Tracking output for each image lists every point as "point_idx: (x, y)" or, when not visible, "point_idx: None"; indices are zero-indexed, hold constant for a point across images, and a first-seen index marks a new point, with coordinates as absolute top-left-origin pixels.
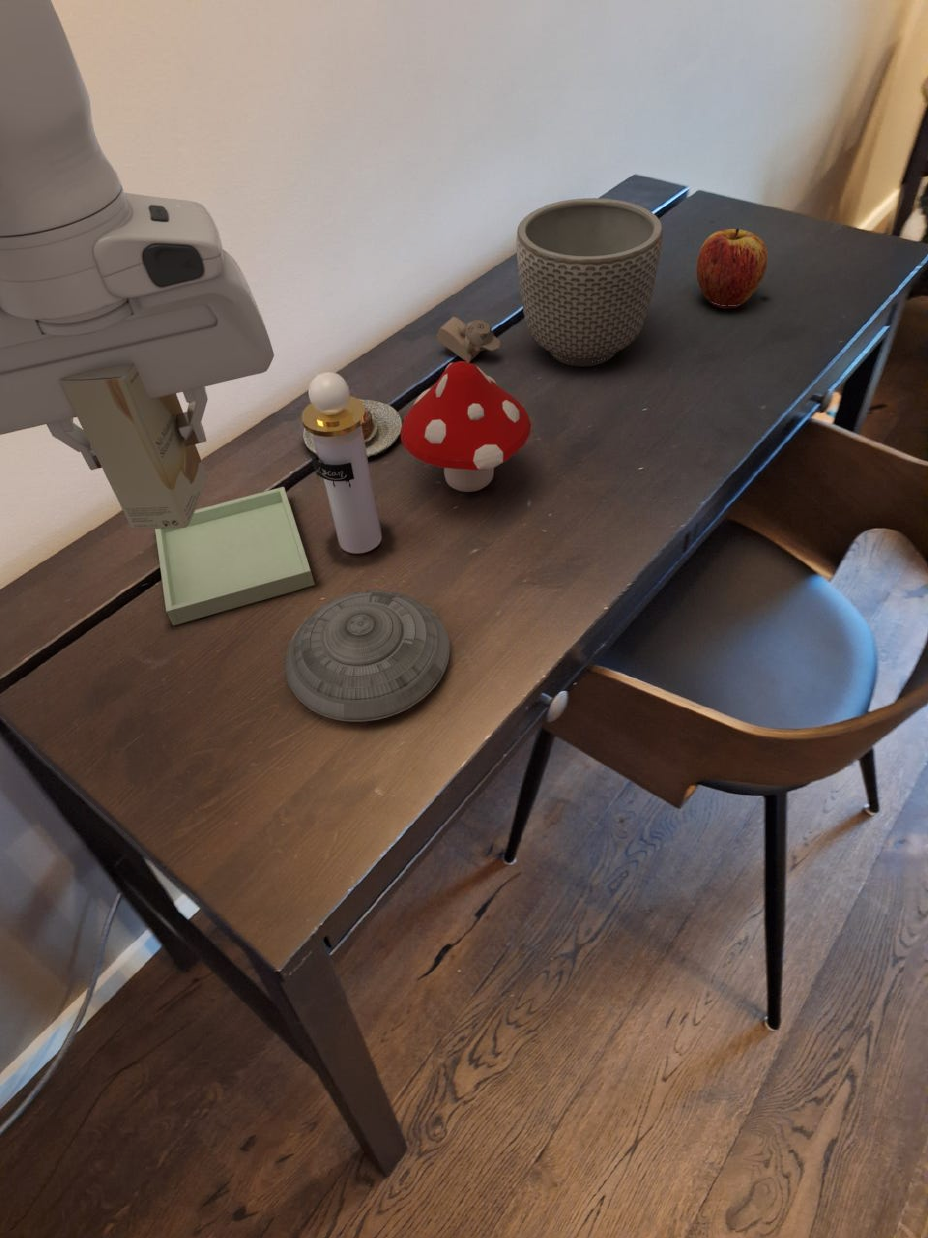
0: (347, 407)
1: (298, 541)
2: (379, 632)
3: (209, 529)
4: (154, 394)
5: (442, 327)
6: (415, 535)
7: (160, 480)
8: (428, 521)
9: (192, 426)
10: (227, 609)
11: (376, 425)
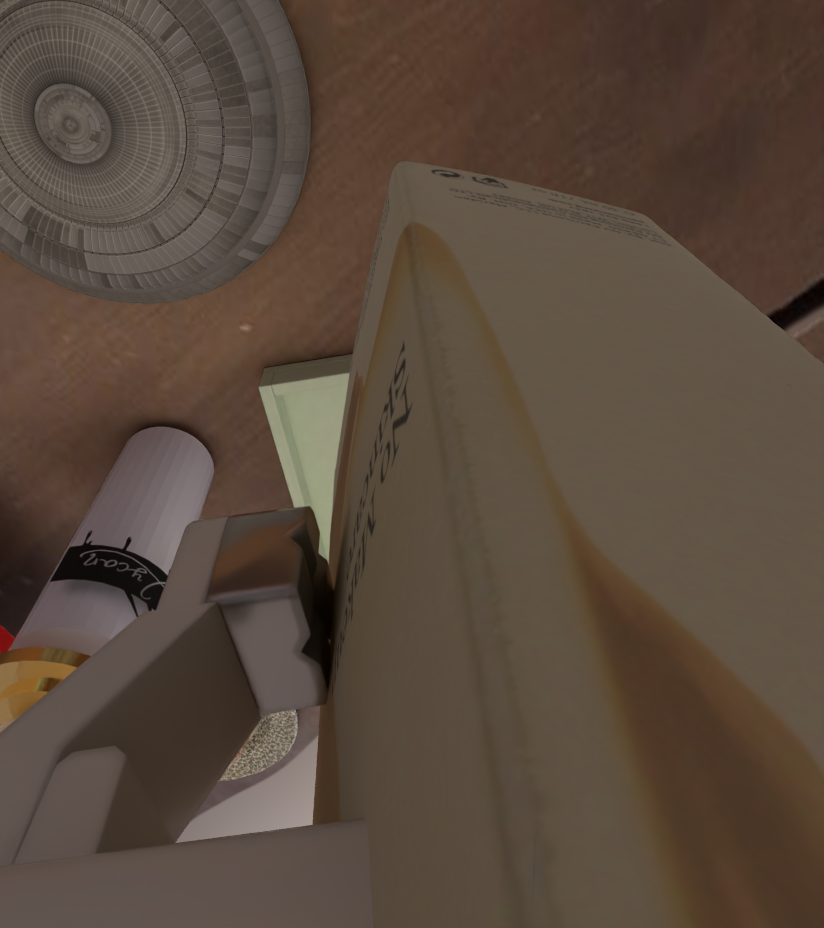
0: None
1: (289, 471)
2: (17, 85)
3: None
4: (298, 870)
5: None
6: (56, 458)
7: (454, 244)
8: (33, 488)
9: (206, 591)
10: None
11: None
